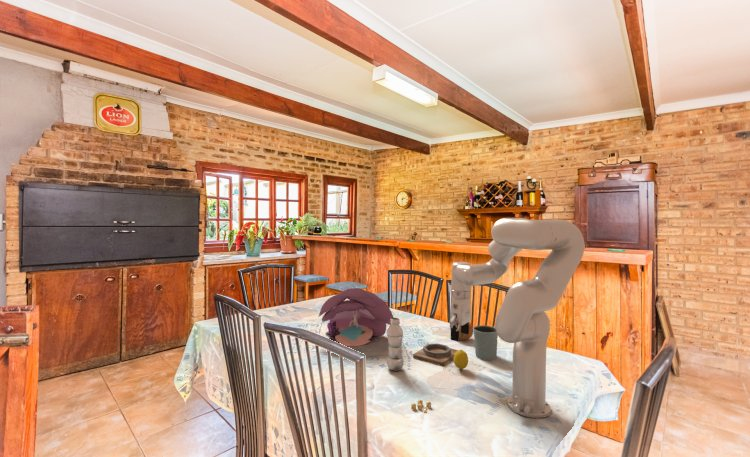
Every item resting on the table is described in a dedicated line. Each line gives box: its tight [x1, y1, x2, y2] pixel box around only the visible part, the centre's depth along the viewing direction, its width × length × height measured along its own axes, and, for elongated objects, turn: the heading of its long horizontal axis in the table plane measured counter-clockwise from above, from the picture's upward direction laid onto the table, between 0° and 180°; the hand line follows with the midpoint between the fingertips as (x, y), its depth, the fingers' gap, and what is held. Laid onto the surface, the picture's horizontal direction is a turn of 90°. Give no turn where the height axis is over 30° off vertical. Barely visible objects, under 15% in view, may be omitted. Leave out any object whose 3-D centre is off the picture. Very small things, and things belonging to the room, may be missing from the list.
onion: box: [455, 321, 474, 341], centre depth 171 cm, size 10×10×10 cm
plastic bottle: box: [386, 317, 404, 372], centre depth 137 cm, size 6×7×20 cm
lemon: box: [453, 349, 469, 371], centre depth 137 cm, size 6×6×8 cm
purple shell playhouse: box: [318, 287, 395, 347], centre depth 172 cm, size 35×24×28 cm
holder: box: [412, 342, 459, 367], centre depth 151 cm, size 16×14×3 cm
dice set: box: [410, 399, 432, 413], centre depth 110 cm, size 5×5×2 cm
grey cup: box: [473, 325, 499, 361], centre depth 150 cm, size 10×10×12 cm
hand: (459, 336), depth 137 cm, fingers open, 9 cm apart
